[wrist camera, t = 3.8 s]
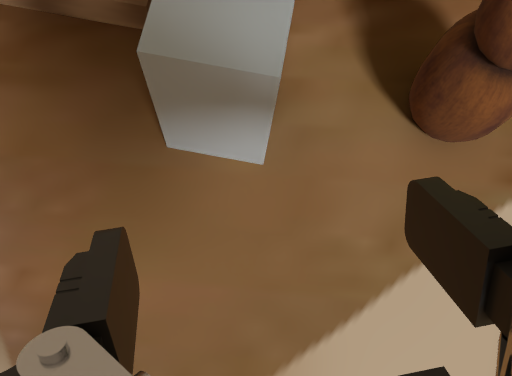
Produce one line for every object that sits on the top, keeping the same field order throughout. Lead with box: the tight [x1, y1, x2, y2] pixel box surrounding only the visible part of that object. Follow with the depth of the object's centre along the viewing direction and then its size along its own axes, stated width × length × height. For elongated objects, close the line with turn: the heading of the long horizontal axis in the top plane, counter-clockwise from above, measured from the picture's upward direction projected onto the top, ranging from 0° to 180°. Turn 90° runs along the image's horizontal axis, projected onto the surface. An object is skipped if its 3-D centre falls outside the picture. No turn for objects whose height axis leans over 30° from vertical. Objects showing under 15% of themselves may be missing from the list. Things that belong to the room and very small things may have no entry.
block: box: [137, 0, 295, 165], centre depth 25 cm, size 6×6×10 cm
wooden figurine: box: [409, 0, 512, 142], centre depth 23 cm, size 7×6×15 cm
